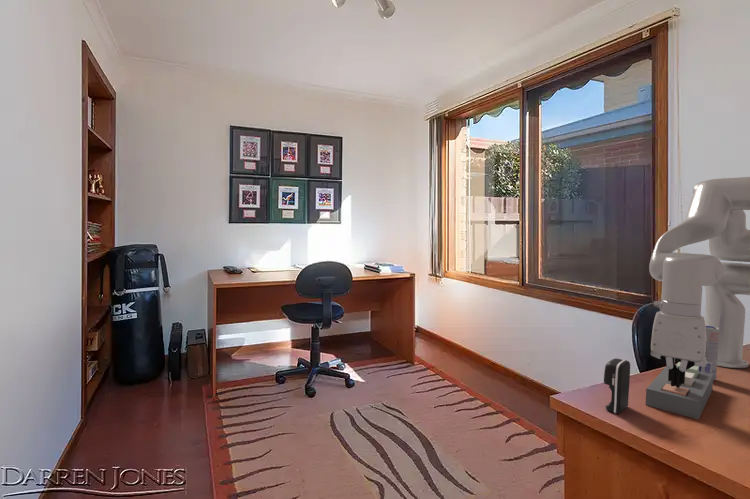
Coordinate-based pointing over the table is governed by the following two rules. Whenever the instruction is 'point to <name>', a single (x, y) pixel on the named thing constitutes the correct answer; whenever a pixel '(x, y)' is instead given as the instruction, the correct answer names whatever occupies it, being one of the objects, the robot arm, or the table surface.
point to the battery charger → (618, 384)
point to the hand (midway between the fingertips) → (676, 385)
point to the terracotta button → (675, 390)
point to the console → (679, 403)
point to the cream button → (688, 379)
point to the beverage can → (711, 351)
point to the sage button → (691, 370)
